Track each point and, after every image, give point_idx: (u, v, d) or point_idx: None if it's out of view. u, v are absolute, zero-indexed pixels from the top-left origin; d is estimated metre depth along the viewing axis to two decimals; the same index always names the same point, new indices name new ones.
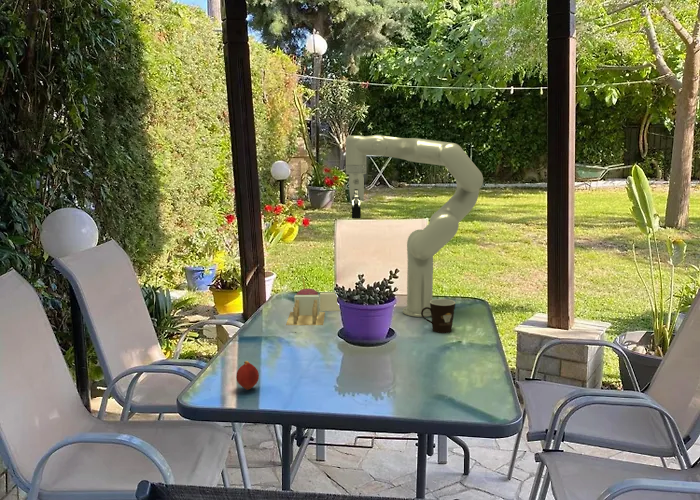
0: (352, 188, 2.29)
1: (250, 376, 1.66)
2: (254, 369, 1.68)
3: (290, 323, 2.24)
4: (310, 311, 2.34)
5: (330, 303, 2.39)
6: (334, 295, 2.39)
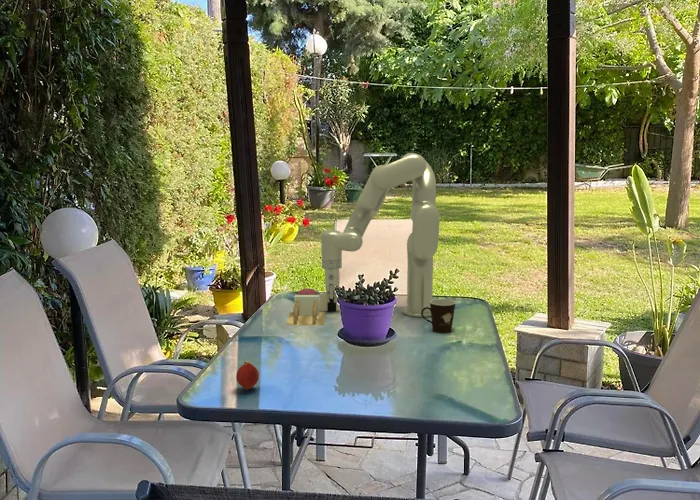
0: (327, 283, 2.34)
1: (250, 376, 1.66)
2: (254, 369, 1.68)
3: (290, 323, 2.24)
4: (310, 311, 2.34)
5: None
6: None
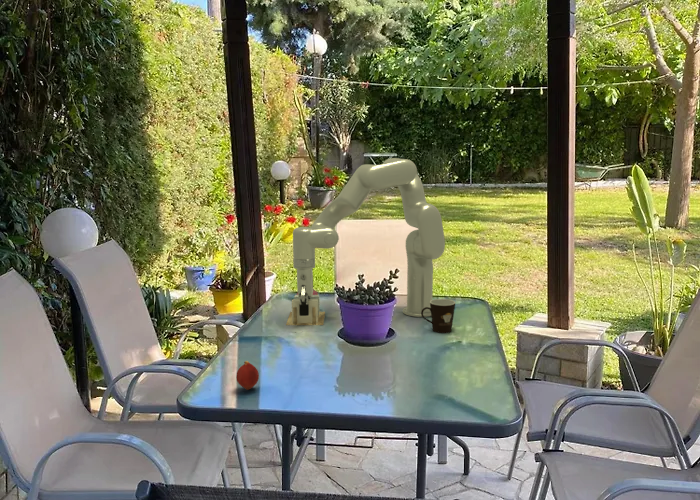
0: (299, 284, 2.18)
1: (250, 376, 1.66)
2: (254, 369, 1.68)
3: (290, 323, 2.24)
4: None
5: None
6: None
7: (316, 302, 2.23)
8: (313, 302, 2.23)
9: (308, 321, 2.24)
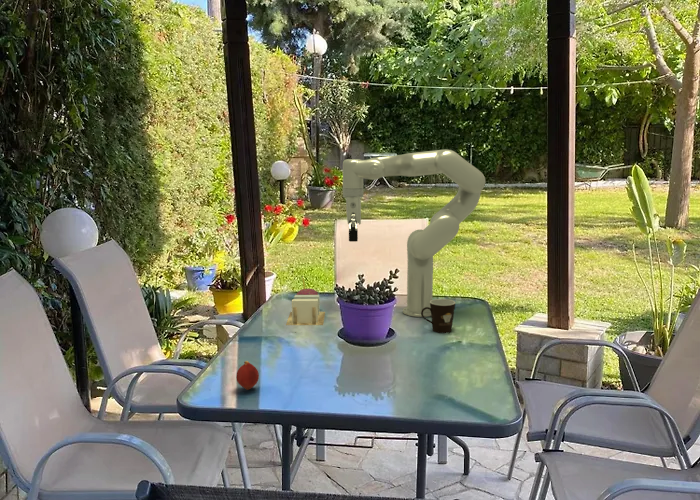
0: (349, 211, 2.31)
1: (250, 376, 1.66)
2: (254, 369, 1.68)
3: (290, 323, 2.24)
4: None
5: (302, 311, 2.23)
6: (307, 302, 2.23)
7: (316, 302, 2.23)
8: (313, 302, 2.23)
9: (308, 321, 2.24)
